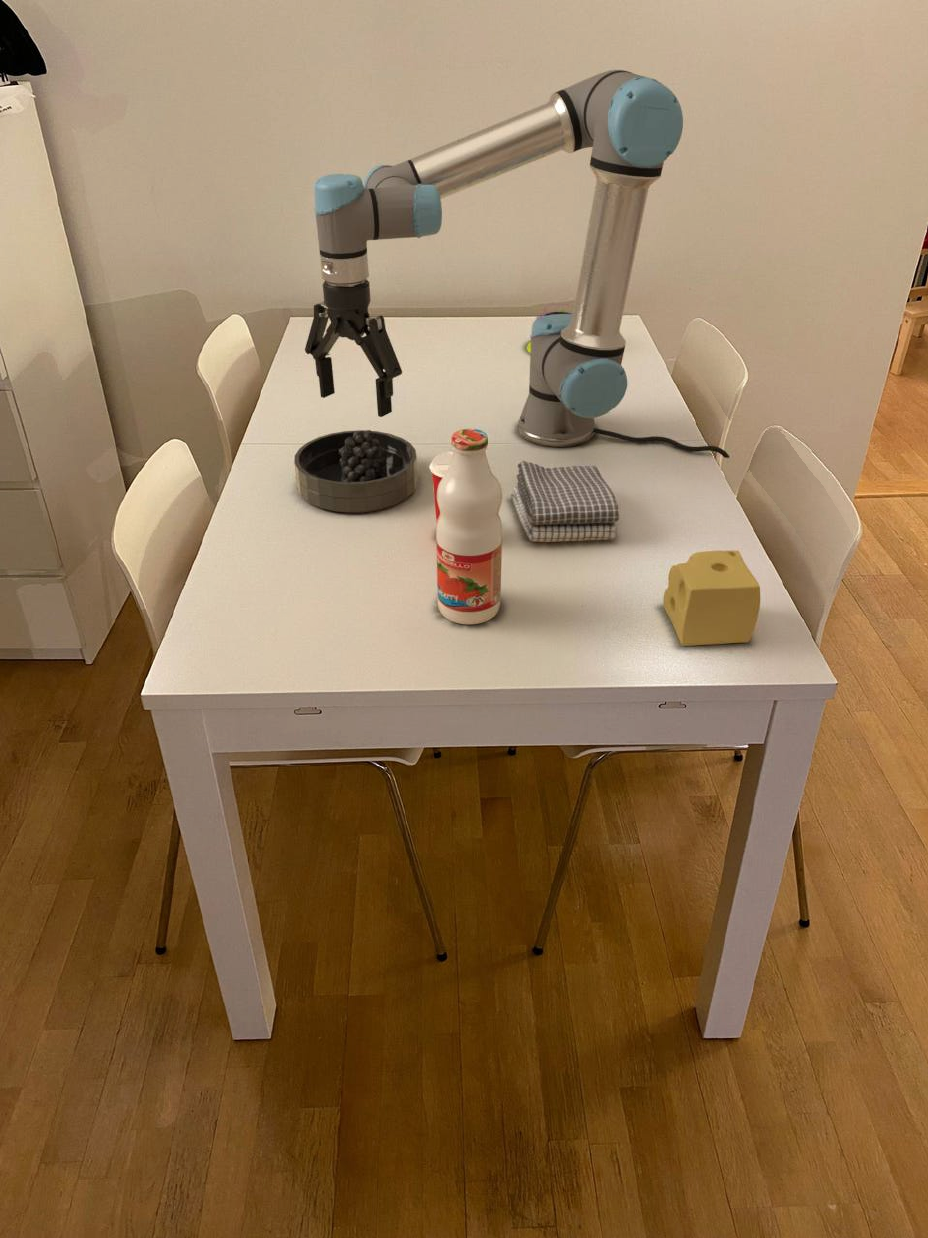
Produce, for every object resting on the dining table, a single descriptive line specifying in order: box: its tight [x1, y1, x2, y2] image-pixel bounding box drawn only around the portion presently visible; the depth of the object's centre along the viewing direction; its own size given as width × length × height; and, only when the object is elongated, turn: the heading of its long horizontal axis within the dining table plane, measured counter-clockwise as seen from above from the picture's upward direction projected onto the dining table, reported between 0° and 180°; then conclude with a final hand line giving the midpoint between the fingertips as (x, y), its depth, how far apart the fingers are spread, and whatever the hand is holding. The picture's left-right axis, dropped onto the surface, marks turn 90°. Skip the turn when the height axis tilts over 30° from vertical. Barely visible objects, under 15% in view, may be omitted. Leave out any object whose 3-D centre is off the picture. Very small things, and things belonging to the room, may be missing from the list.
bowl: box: [294, 429, 418, 514], centre depth 179 cm, size 22×22×6 cm
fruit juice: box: [435, 428, 503, 625], centre depth 141 cm, size 9×9×28 cm
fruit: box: [339, 429, 387, 482], centre depth 178 cm, size 9×8×15 cm
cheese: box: [662, 550, 761, 647], centre depth 142 cm, size 10×11×10 cm
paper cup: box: [428, 450, 454, 524], centre depth 162 cm, size 8×8×14 cm
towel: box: [510, 460, 620, 543], centre depth 168 cm, size 15×18×8 cm
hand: (355, 404), depth 172 cm, fingers open, 13 cm apart
